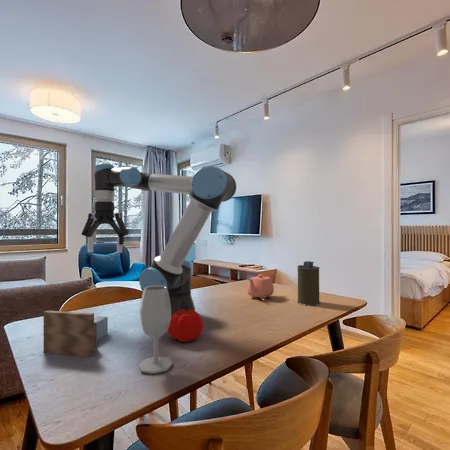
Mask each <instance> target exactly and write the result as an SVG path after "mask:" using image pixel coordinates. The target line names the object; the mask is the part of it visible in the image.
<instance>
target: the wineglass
mask: <svg viewBox="0 0 450 450" xmlns="http://www.w3.org/2000/svg"><path fill="white" fill-rule="evenodd" d="M139 309H140V310H139V319H140V324H141V327H142V330H143V333H144V334H145V335H147V336H148V337H150V338H151V339H152V340H153V341H152V342H153V343H152V345H153V346H152V347H153V349H152V351H153V352H152V353H153V355H152V357H148V358H147V357H146V358H145V359H144V360H142V361H141V362H140V363H139V364H138V365H139V370H140V372H141V373H143V374H150V375H151V374H152V375H154V374H160V373H164V372H167V371H168V370H169V369H170V368H171V367H172V366H173V362H172V359H171V358H170V357H167V356H159V353H160V352H159V351H160V349H159V339H160V338H161V337H162V336H163V335H164V334H165V333H166V332H168V329H169V325H170V321H171V304H170V298H169V293H168V290H167V287H166V286H159V285H156V286H148V287H145V288H144V291H143V292H142V295H141V301H140V308H139Z"/></svg>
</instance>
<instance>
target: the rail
mask: <svg viewBox="0 0 450 450" xmlns="http://www.w3.org/2000/svg"><path fill="white" fill-rule="evenodd" d="M94 322H97V341H98V340H100V339H102V338H104V337H105V336H107V335H108V334H109V328H108V316H101V315H97V316H94Z"/></svg>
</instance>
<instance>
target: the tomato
mask: <svg viewBox="0 0 450 450" xmlns="http://www.w3.org/2000/svg"><path fill="white" fill-rule="evenodd" d="M203 331H204V322H203V318H202V317H201V316H200V314H199V313H198V312H196V310H195V311H194V310H193V309H189V310H188V311H187V310H184V309H181V310H178V311H176V312H175V313H174V314H173V315H172V316H171V321H170V325H169V329H168V330H167V332H168V335H169V336H170V338H172V339H174V340H178V341H179V342H182V343H189V342H190V341H194V340H197V339H198V338H199V337H200V336H201V335H202V333H203Z"/></svg>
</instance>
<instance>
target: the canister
mask: <svg viewBox="0 0 450 450" xmlns="http://www.w3.org/2000/svg"><path fill="white" fill-rule="evenodd" d="M314 263H315V262H314V261H311V260H309V261H307V260H305V261H303V265H302V264H300V265H299V264H298V265H297V303H298V304H299V303H301V304H300V305H302V304H305V305H304V306H308V305H314V306H318V305H317V304H319V305H320V304H321V303H320V267H319V266H317V265H316V266H315V265H314Z"/></svg>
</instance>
